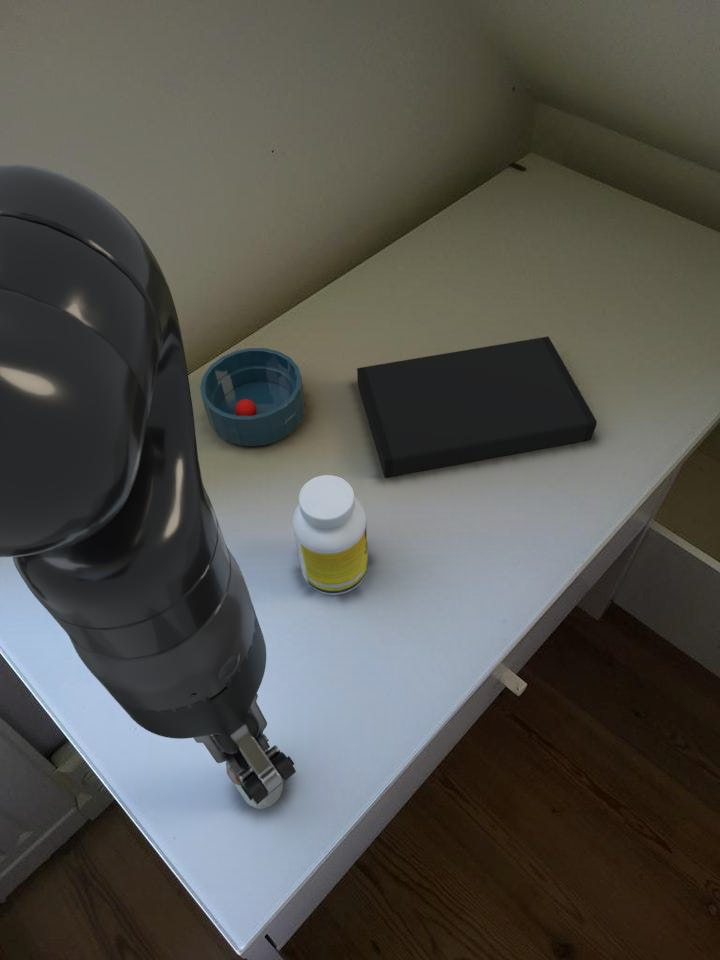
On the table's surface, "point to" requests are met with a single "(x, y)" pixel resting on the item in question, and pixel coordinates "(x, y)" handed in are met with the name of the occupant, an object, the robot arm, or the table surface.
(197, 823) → the table surface
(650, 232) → the table surface
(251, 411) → the ball
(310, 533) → the pill bottle
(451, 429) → the external hard drive
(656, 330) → the table surface
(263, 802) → the holder
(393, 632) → the table surface
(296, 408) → the bowl
